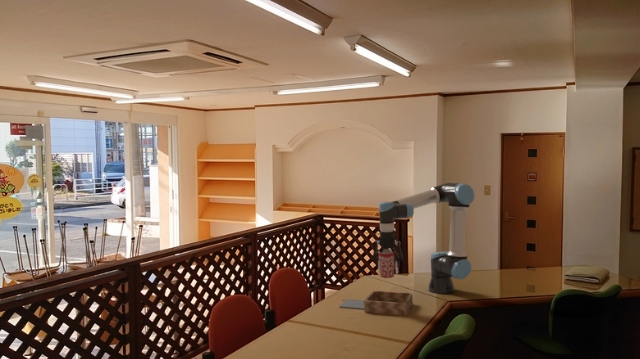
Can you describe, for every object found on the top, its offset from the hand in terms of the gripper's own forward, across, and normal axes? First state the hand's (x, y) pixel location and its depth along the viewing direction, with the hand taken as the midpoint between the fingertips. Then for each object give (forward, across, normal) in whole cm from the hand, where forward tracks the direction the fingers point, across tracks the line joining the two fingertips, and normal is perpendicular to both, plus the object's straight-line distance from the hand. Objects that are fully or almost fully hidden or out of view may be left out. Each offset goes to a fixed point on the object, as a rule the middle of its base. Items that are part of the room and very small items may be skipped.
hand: (388, 272), depth 255 cm
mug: (+2, -1, 0) cm, 2 cm away
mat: (+19, +19, -1) cm, 27 cm away
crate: (+19, 0, 0) cm, 19 cm away
